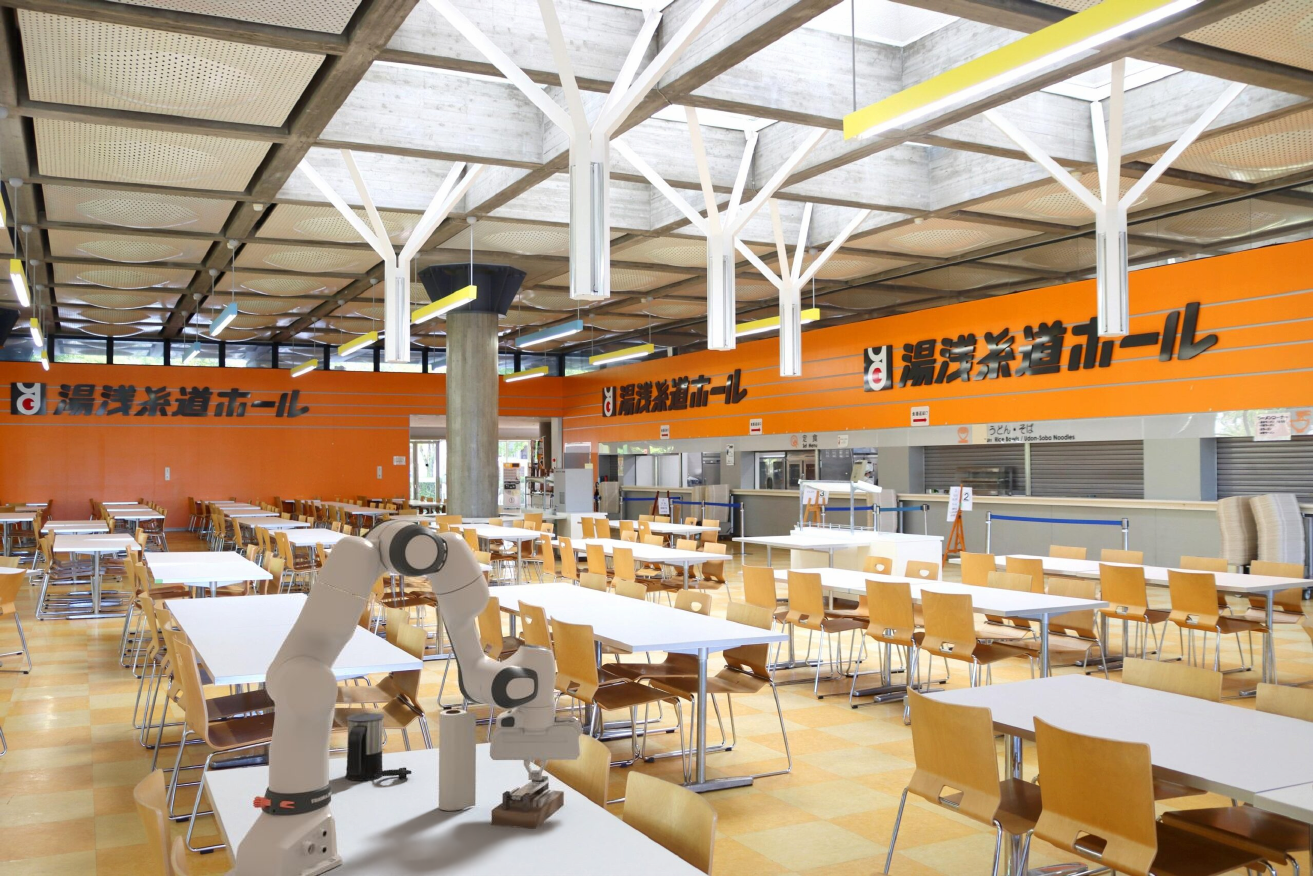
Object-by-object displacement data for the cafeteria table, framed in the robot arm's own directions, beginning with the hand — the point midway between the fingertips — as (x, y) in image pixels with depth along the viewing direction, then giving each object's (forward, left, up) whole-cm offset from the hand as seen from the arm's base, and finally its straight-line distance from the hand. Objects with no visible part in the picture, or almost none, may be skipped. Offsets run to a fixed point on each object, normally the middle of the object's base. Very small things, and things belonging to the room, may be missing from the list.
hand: (535, 779), depth 228 cm
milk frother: (+13, +47, -7) cm, 50 cm away
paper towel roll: (-4, +18, -7) cm, 20 cm away
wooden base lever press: (-4, 0, -6) cm, 8 cm away
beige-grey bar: (-4, 0, -2) cm, 4 cm away
